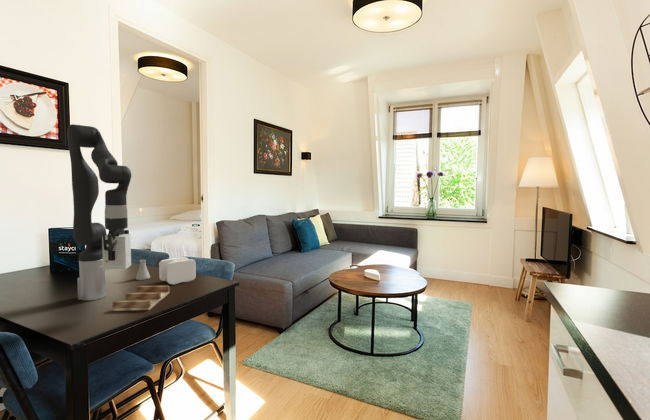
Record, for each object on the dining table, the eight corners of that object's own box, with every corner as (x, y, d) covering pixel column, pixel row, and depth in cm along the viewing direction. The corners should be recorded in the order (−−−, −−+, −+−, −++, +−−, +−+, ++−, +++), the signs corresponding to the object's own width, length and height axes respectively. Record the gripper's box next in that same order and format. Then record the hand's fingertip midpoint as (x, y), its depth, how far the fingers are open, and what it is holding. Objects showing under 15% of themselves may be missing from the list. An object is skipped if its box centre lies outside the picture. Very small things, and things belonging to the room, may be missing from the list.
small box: (131, 265, 134) (130, 233, 133) (125, 269, 128) (125, 236, 127) (109, 266, 132) (108, 234, 131) (102, 270, 126) (101, 236, 125)
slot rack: (112, 310, 131) (112, 302, 131) (138, 293, 153) (138, 285, 152) (149, 310, 133) (149, 301, 132) (169, 292, 154) (169, 285, 154)
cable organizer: (166, 286, 164) (165, 263, 163) (159, 281, 171) (158, 259, 170) (196, 280, 174) (195, 259, 173) (187, 276, 182) (187, 255, 181)
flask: (147, 275, 182) (147, 258, 181) (153, 278, 177) (152, 260, 177) (133, 278, 176) (132, 260, 176) (138, 281, 172) (138, 262, 171)
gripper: (116, 214, 135) (117, 254, 137) (94, 218, 121) (95, 262, 122) (135, 215, 136) (136, 254, 137) (115, 218, 122) (116, 262, 123)
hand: (117, 258), depth 130 cm, fingers closed on small box, 6 cm apart
